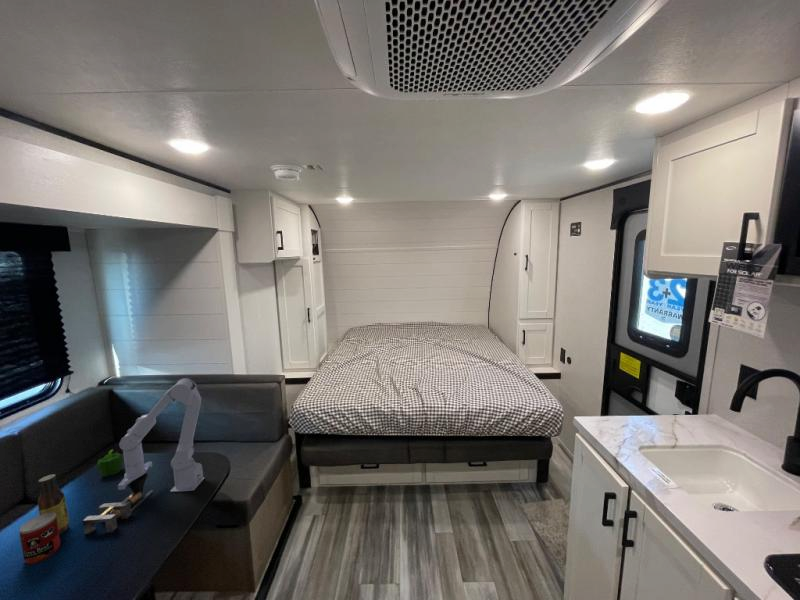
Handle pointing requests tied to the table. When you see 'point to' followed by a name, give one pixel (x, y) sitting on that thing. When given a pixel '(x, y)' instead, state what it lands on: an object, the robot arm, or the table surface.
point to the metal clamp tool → (110, 515)
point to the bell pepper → (110, 464)
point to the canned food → (39, 538)
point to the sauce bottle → (53, 501)
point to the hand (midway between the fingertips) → (138, 494)
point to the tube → (131, 499)
